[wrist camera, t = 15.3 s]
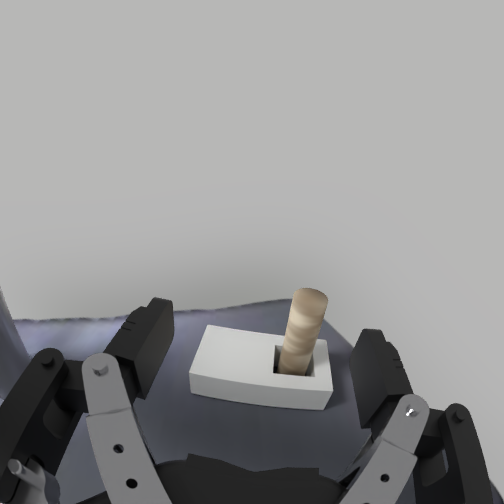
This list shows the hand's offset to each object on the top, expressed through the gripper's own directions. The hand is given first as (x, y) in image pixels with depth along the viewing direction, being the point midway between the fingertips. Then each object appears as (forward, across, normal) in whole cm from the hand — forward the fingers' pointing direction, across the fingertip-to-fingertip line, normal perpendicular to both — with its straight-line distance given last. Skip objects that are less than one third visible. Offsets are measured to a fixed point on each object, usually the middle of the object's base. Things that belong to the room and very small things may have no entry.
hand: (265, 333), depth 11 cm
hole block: (+17, -2, +24) cm, 30 cm away
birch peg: (+17, -6, +24) cm, 30 cm away
